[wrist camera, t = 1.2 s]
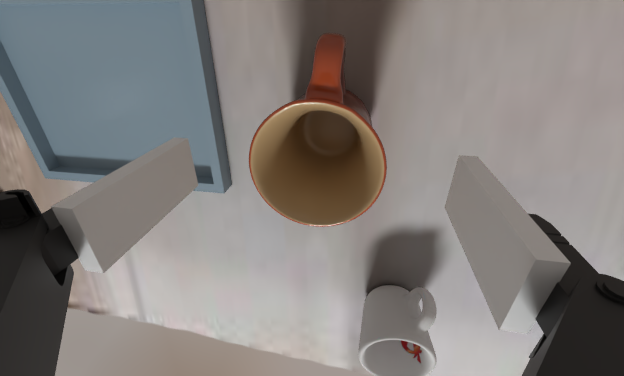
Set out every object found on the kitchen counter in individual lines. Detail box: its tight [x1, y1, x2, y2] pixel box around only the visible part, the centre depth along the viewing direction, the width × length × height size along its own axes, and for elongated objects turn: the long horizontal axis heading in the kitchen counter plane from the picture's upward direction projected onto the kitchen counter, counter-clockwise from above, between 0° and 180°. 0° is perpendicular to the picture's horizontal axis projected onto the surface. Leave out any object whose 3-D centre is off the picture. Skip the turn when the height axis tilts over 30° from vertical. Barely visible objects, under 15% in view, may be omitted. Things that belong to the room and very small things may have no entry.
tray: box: [0, 0, 232, 193], centre depth 28 cm, size 22×18×2 cm
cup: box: [358, 285, 436, 376], centre depth 32 cm, size 11×8×8 cm
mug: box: [249, 33, 387, 227], centre depth 21 cm, size 12×9×10 cm
